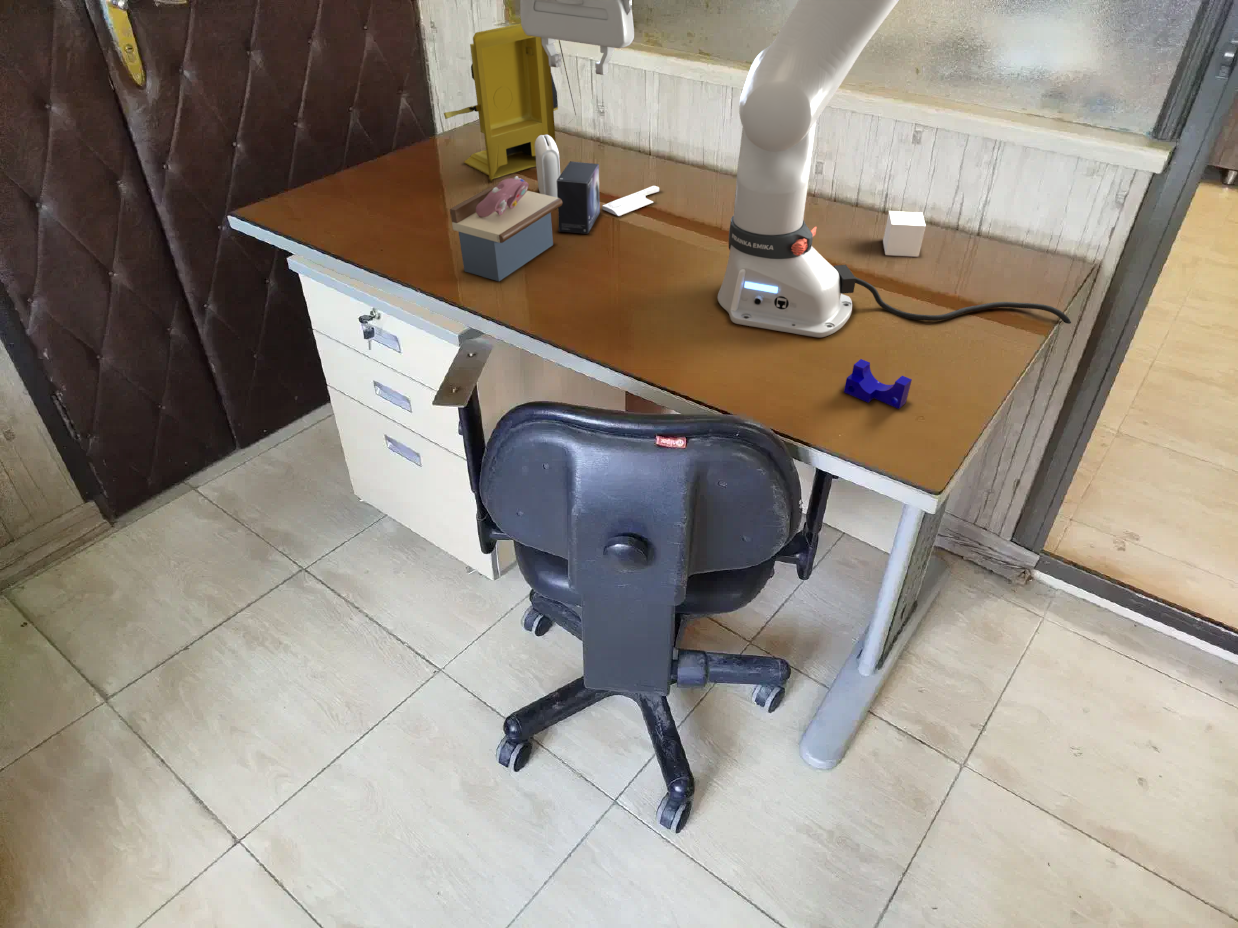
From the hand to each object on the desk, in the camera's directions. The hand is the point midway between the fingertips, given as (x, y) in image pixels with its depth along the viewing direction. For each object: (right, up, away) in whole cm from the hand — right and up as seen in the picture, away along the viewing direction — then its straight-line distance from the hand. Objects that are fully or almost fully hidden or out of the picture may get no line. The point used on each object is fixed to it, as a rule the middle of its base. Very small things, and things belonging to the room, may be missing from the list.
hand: (578, 70), depth 139 cm
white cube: (+60, -26, +16) cm, 67 cm away
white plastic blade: (+10, -12, +34) cm, 38 cm away
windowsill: (-13, -28, +15) cm, 35 cm away
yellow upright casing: (-18, +4, +53) cm, 56 cm away
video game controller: (-14, -21, +9) cm, 27 cm away
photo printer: (-8, -9, +38) cm, 40 cm away
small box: (-1, -18, +27) cm, 33 cm away
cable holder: (+44, -57, -20) cm, 75 cm away
